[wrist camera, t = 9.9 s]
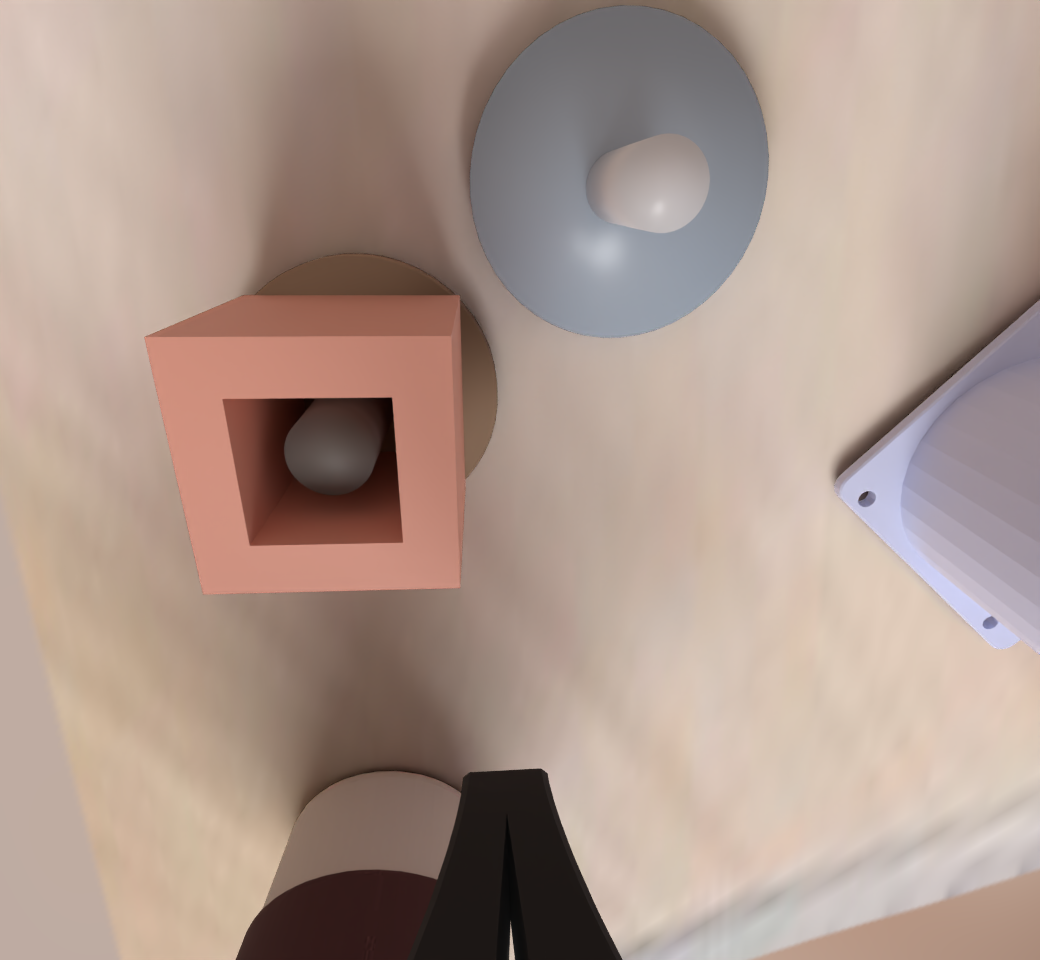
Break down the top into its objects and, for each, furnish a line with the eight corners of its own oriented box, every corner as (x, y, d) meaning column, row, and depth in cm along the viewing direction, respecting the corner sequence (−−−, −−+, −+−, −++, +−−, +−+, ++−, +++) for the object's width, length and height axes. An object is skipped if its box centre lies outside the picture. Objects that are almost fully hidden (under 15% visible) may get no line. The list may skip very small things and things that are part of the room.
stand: (812, 174, 16) (939, 166, 11) (613, 384, 18) (657, 446, 13) (613, -67, 14) (676, -190, 9) (411, 200, 16) (384, 203, 11)
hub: (549, 376, 18) (572, 436, 13) (393, 548, 19) (367, 650, 15) (335, 190, 15) (277, 187, 11) (183, 403, 17) (82, 473, 13)
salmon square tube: (459, 295, 16) (451, 336, 11) (465, 487, 18) (460, 588, 13) (243, 295, 15) (144, 337, 11) (275, 490, 18) (203, 594, 13)
